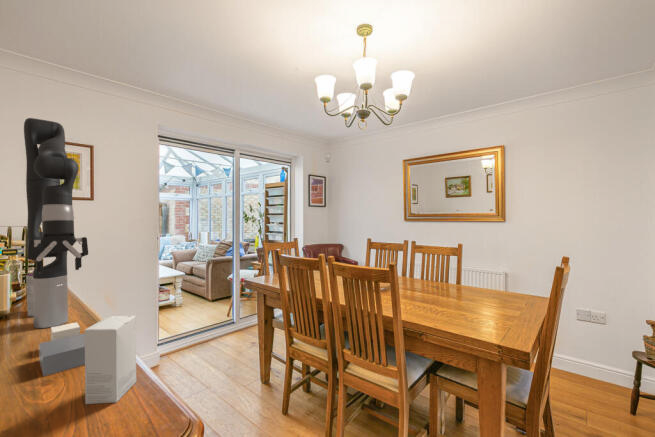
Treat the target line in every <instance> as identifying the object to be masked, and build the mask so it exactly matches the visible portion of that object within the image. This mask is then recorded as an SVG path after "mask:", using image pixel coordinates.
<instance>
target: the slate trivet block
mask: <svg viewBox="0 0 655 437" xmlns="http://www.w3.org/2000/svg"><path fill="white" fill-rule="evenodd" d="M38 356H39V357H38V358H39V365H40V369H41V373H42V376H43V377H47V376H50V375H54V374H58V373H60V372H64V371H68V370H71V369H75V368H78V367H82V366H85V332H84V333H80V334H79V335H74V336H70V337H65V338H61V339H56V340H52V341H51V340H48V341H44V342H39V343H38Z"/></svg>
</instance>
